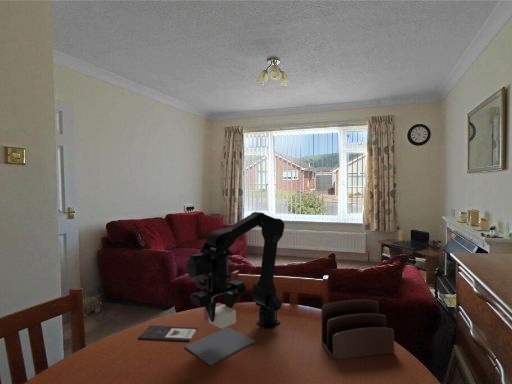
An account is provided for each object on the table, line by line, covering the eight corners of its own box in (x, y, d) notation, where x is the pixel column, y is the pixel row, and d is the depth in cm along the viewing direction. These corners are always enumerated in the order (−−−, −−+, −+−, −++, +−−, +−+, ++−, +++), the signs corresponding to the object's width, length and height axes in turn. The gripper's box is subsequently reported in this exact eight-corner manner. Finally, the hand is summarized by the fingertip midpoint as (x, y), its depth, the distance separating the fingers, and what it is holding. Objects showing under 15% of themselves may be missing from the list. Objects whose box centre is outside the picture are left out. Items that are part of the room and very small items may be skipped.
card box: (236, 322, 99) (235, 310, 99) (221, 329, 95) (221, 316, 95) (218, 314, 106) (218, 302, 105) (204, 320, 101) (204, 308, 101)
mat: (228, 328, 112) (227, 327, 112) (255, 342, 102) (254, 340, 102) (184, 347, 99) (184, 346, 99) (210, 365, 89) (210, 364, 89)
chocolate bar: (150, 325, 114) (197, 327, 112) (150, 328, 114) (197, 330, 112) (137, 337, 105) (188, 340, 103) (138, 340, 105) (188, 343, 103)
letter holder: (321, 343, 101) (320, 301, 100) (377, 338, 104) (377, 296, 103) (333, 361, 91) (332, 314, 90) (395, 354, 94) (395, 309, 93)
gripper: (225, 260, 112) (226, 303, 112) (180, 272, 99) (181, 320, 99) (246, 266, 104) (247, 312, 105) (200, 279, 91) (201, 331, 91)
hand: (220, 318), depth 100 cm, fingers closed on card box, 6 cm apart
